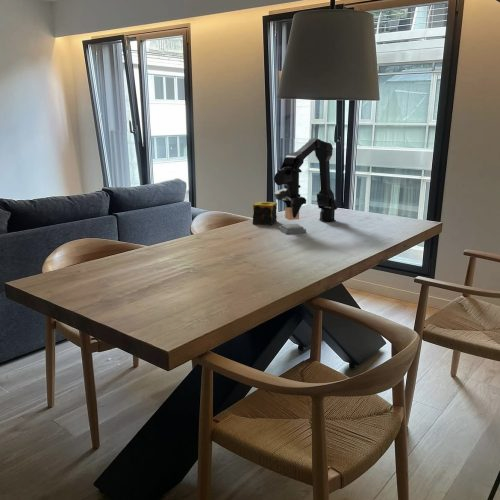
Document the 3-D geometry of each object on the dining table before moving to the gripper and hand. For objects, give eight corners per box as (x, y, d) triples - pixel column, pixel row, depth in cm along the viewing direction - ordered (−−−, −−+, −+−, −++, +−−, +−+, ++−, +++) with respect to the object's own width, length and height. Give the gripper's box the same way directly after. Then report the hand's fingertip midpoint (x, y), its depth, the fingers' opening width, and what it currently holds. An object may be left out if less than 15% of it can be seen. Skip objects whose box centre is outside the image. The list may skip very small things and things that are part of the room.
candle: (252, 224, 246) (252, 204, 243) (257, 220, 255) (257, 201, 252) (272, 225, 243) (272, 205, 240) (276, 221, 252) (277, 202, 249)
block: (295, 217, 232) (295, 206, 230) (299, 219, 227) (299, 208, 226) (285, 217, 230) (285, 207, 229) (289, 220, 226) (289, 209, 224)
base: (297, 228, 236) (297, 223, 235) (306, 232, 227) (306, 227, 226) (278, 229, 233) (278, 224, 233) (285, 234, 224) (285, 228, 223)
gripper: (269, 181, 231) (269, 213, 235) (283, 186, 213) (283, 221, 217) (291, 180, 234) (291, 212, 238) (307, 185, 216) (306, 219, 221)
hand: (292, 216), depth 228 cm, fingers closed on block, 5 cm apart
